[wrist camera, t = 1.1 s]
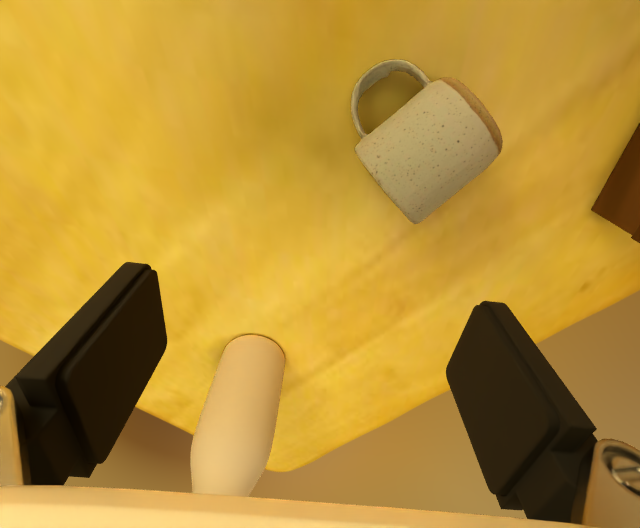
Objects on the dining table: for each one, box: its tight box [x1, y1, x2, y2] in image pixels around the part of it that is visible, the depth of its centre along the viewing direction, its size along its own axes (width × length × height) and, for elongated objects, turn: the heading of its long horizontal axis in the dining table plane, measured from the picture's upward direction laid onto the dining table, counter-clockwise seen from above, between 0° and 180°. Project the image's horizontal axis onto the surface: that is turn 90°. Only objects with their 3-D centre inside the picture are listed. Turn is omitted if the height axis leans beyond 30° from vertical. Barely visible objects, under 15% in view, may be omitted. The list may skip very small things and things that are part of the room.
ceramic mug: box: [351, 59, 502, 224], centre depth 25 cm, size 11×8×8 cm
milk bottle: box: [190, 335, 285, 497], centre depth 34 cm, size 8×8×20 cm
